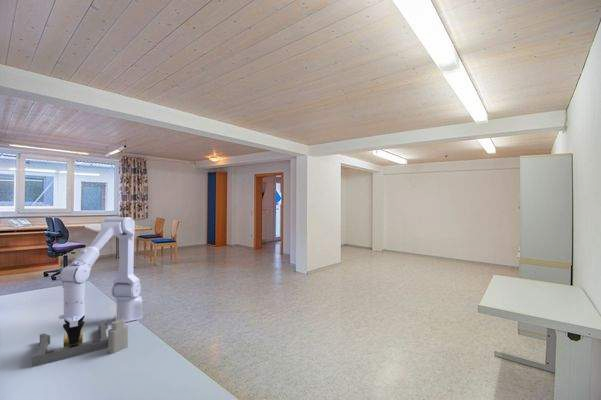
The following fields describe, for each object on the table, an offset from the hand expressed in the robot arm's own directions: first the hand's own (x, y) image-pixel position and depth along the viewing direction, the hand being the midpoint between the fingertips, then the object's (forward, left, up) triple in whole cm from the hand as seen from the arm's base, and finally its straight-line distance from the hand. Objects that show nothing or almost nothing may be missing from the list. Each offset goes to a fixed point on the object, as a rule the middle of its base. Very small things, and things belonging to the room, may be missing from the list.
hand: (74, 340), depth 99 cm
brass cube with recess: (0, 0, -3) cm, 3 cm away
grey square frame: (0, -3, -3) cm, 4 cm away
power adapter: (-12, +9, -3) cm, 15 cm away
